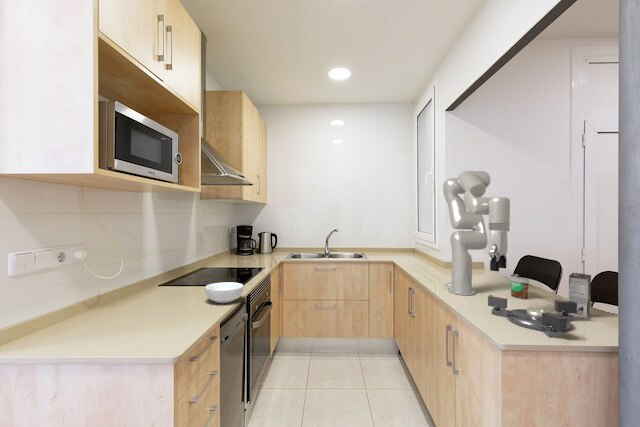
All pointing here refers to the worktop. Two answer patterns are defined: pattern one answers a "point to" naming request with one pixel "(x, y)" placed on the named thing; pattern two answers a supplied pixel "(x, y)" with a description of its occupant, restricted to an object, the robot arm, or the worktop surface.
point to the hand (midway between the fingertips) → (498, 269)
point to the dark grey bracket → (497, 301)
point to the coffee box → (580, 293)
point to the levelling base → (532, 322)
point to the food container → (519, 286)
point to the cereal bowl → (224, 291)
